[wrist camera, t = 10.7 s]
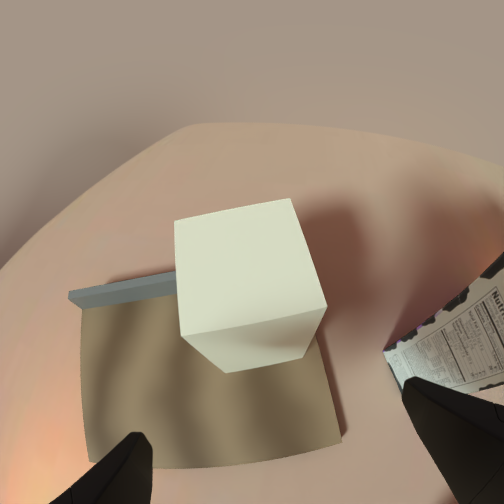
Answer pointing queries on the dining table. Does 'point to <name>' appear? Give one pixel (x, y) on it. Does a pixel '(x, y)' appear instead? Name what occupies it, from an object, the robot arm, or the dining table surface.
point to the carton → (247, 286)
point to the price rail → (125, 291)
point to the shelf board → (194, 394)
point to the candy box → (458, 339)
